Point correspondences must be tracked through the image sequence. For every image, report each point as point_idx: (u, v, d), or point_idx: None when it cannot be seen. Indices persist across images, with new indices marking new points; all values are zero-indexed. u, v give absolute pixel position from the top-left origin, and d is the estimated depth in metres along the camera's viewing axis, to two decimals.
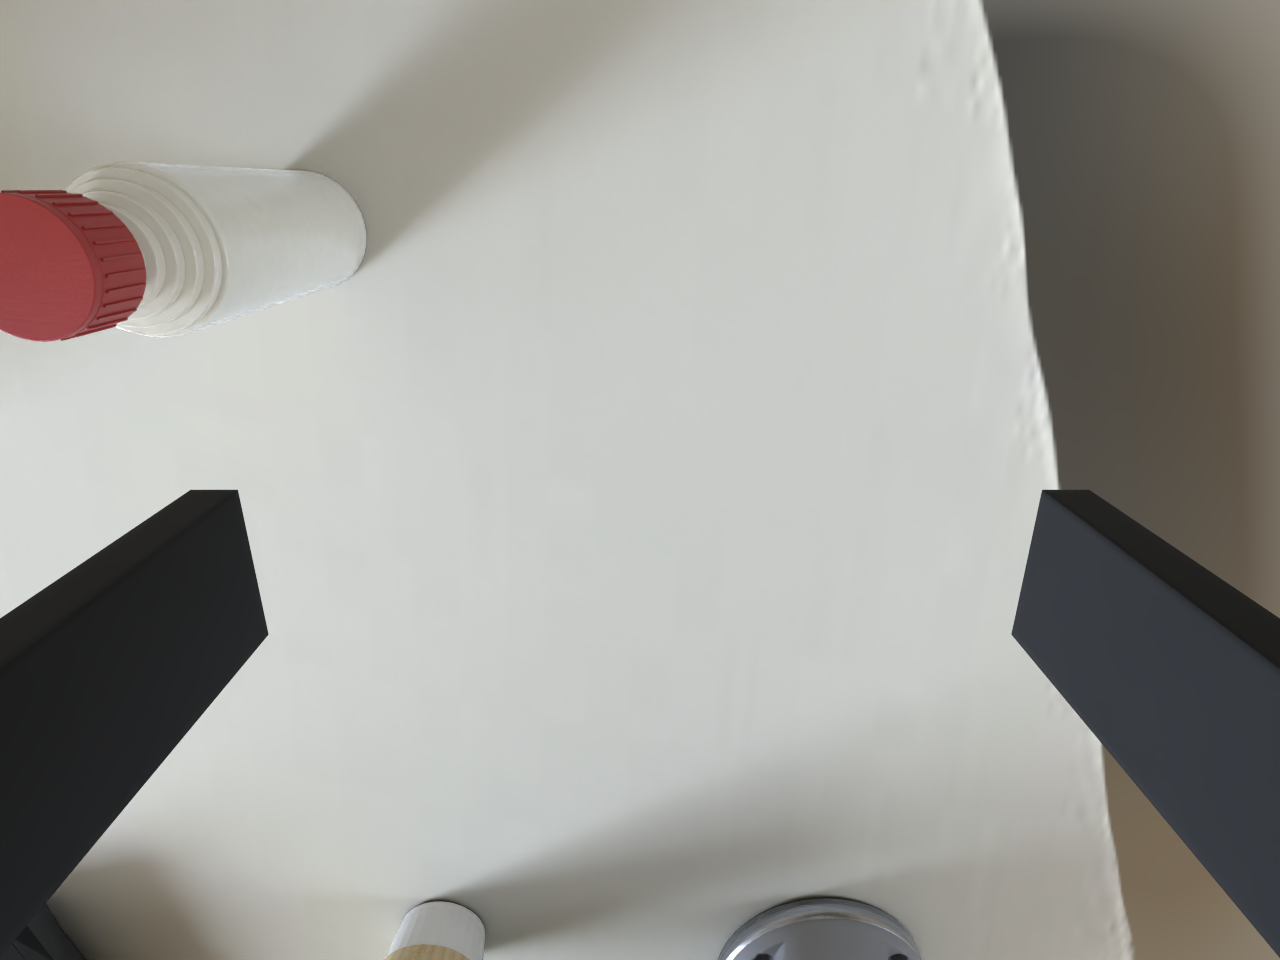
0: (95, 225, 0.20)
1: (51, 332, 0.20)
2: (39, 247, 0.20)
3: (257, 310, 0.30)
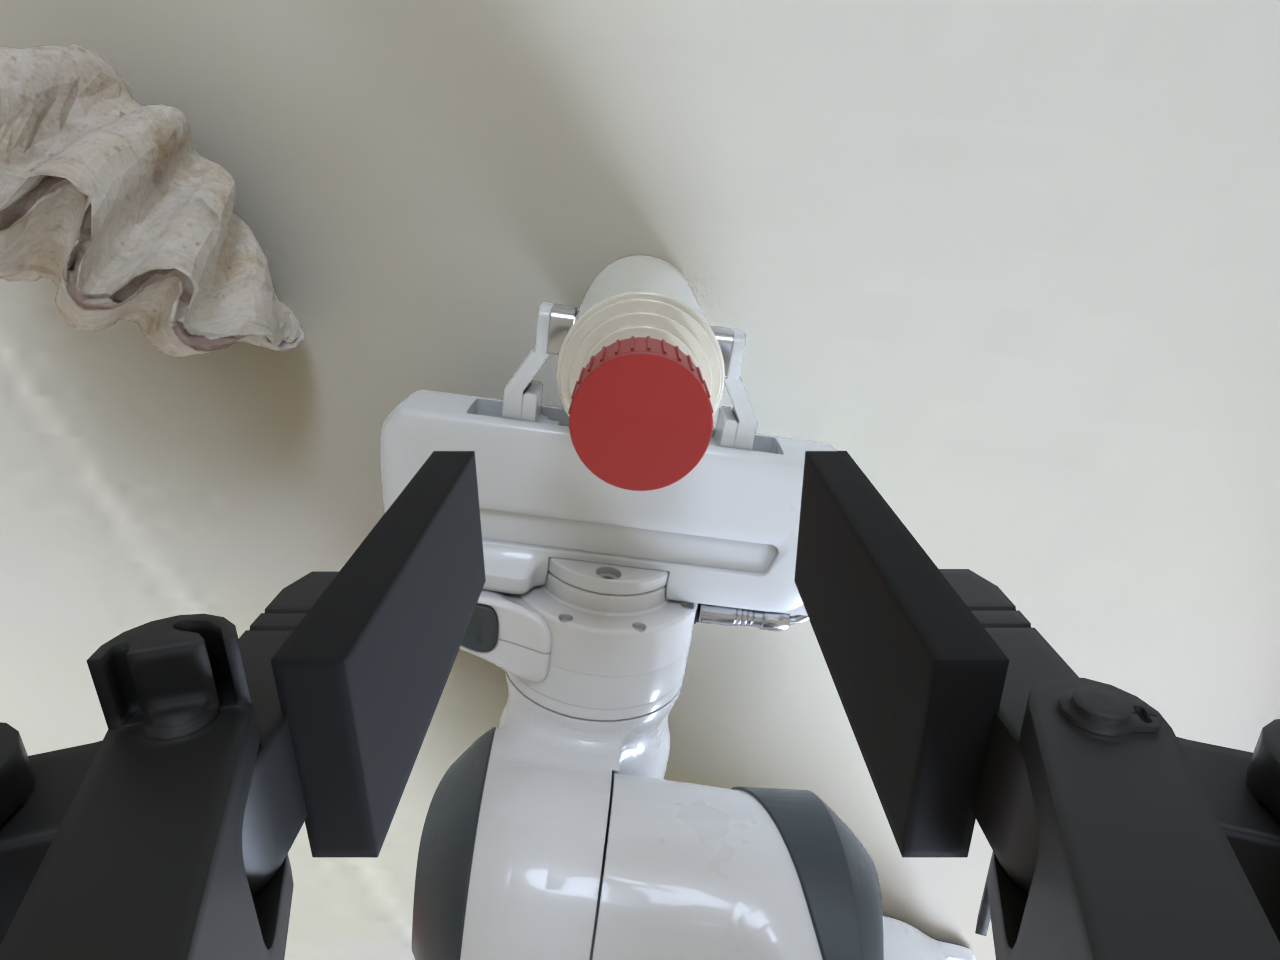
0: (601, 356, 0.20)
1: (703, 412, 0.20)
2: (619, 400, 0.20)
3: None
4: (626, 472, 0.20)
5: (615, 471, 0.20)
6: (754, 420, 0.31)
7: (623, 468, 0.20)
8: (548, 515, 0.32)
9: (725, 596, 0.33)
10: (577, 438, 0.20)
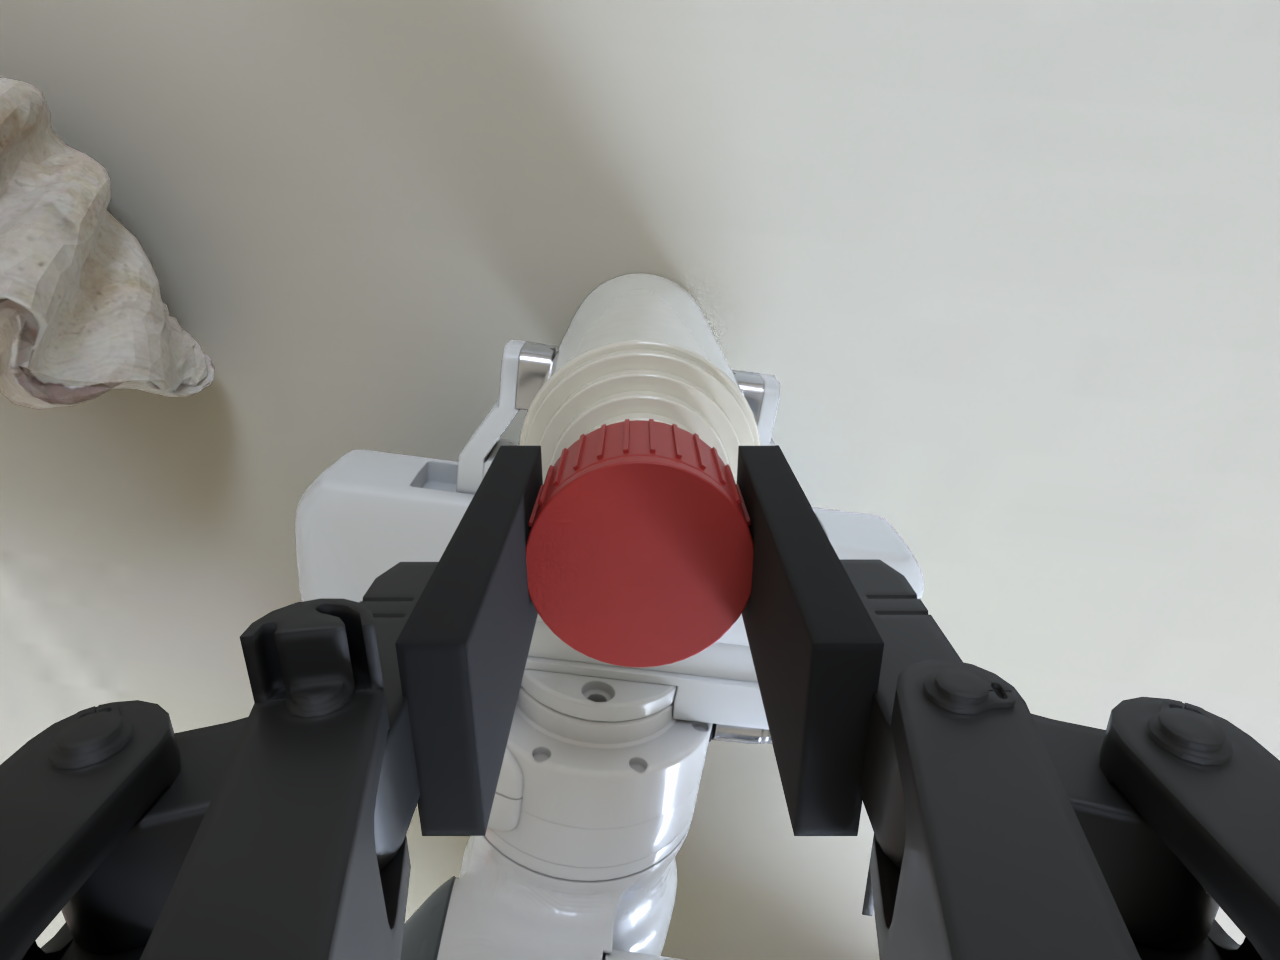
0: (576, 458, 0.13)
1: (741, 552, 0.12)
2: (604, 534, 0.12)
3: None
4: (616, 640, 0.13)
5: (599, 639, 0.13)
6: None
7: (612, 635, 0.13)
8: None
9: (749, 716, 0.26)
10: (537, 591, 0.12)
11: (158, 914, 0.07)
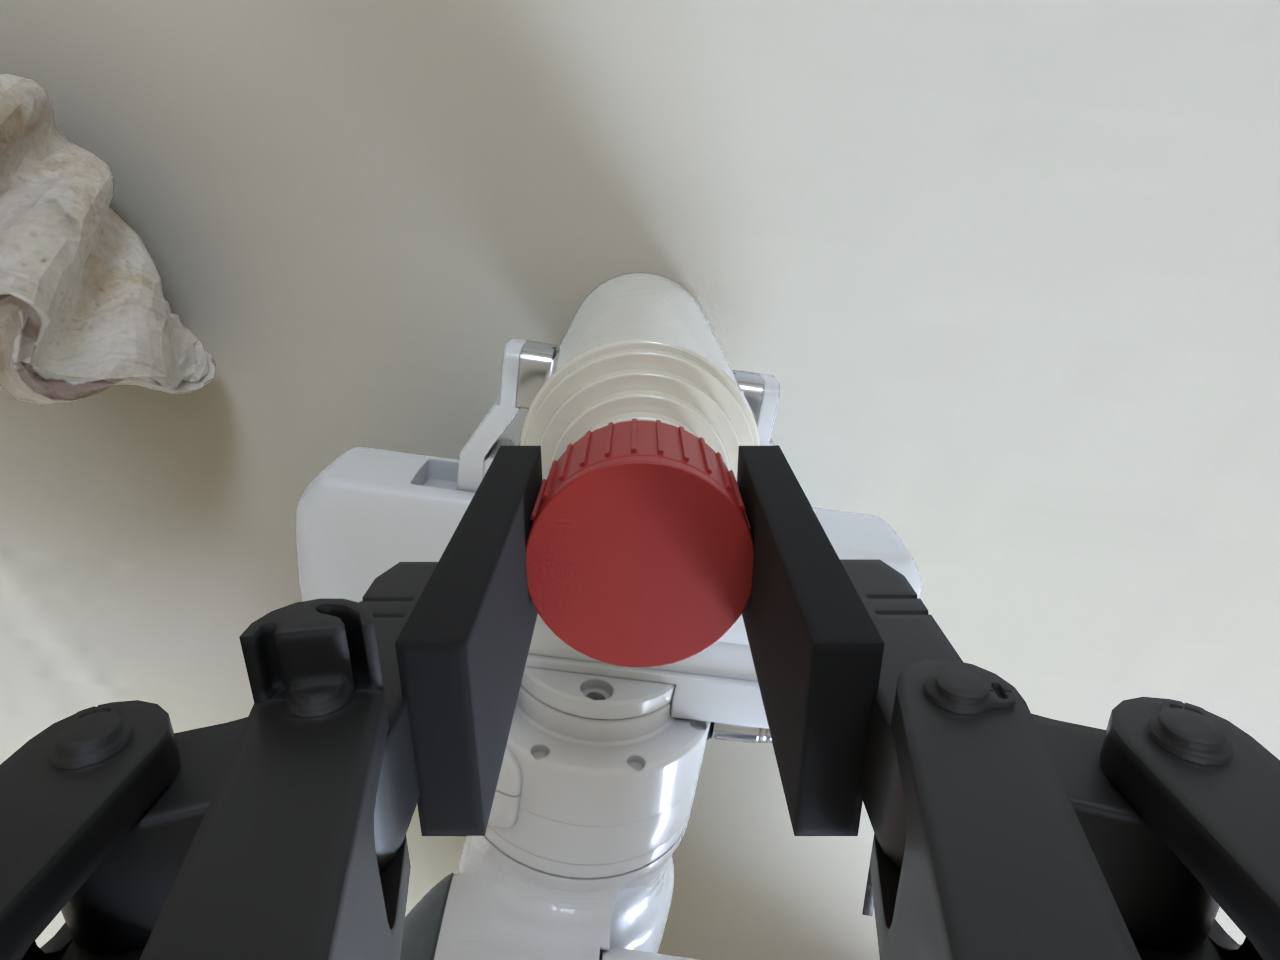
0: None
1: (602, 481, 0.12)
2: (605, 606, 0.12)
3: None
4: (724, 580, 0.12)
5: (724, 596, 0.12)
6: None
7: (717, 585, 0.12)
8: None
9: (747, 715, 0.26)
10: (677, 653, 0.13)
11: (158, 914, 0.07)
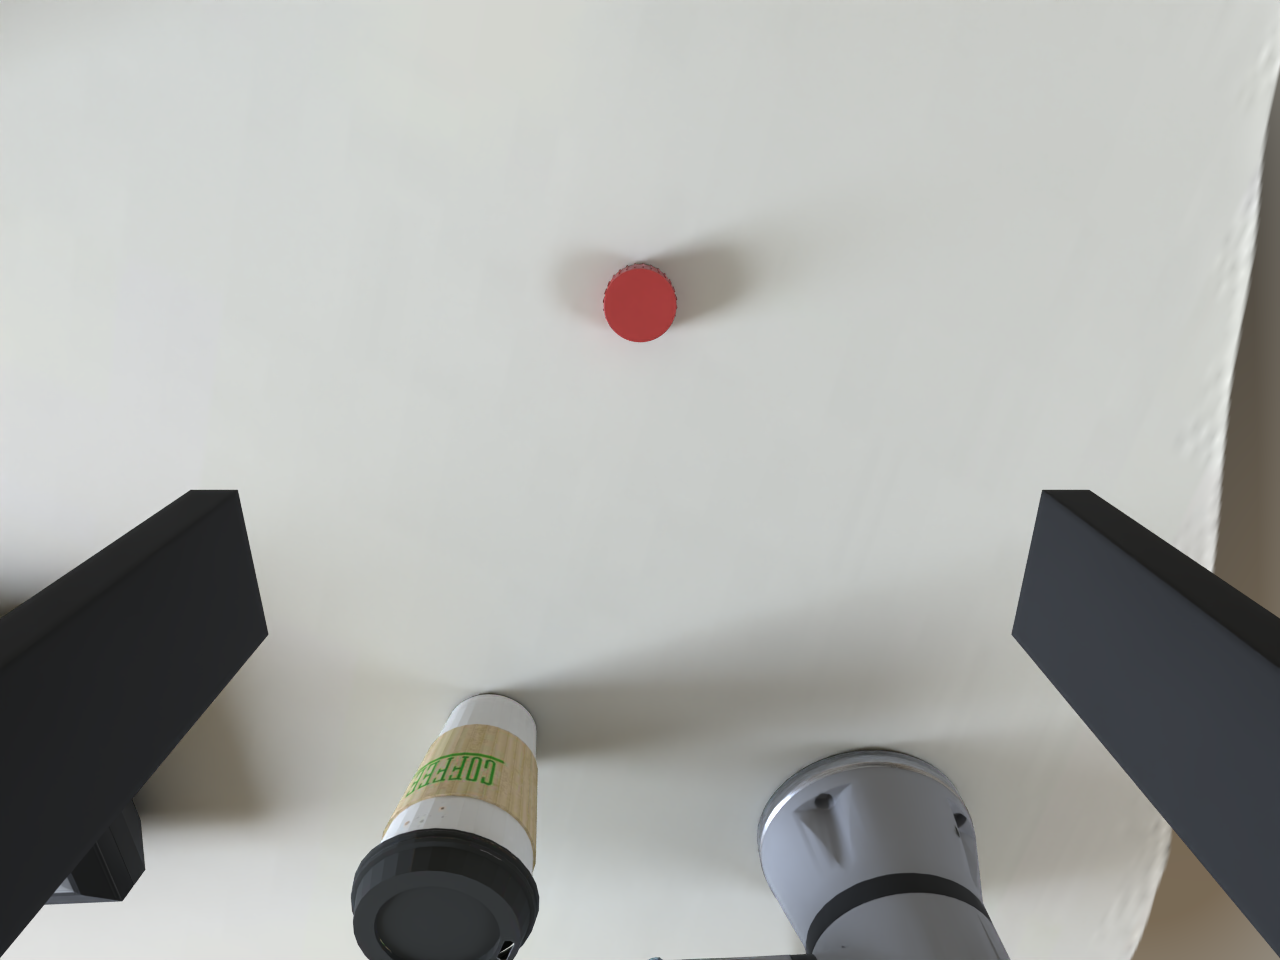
0: (658, 270, 0.39)
1: (659, 331, 0.40)
2: (646, 290, 0.39)
3: None
4: (614, 311, 0.39)
5: (611, 305, 0.39)
6: None
7: (615, 308, 0.39)
8: None
9: None
10: (618, 279, 0.39)
11: None
